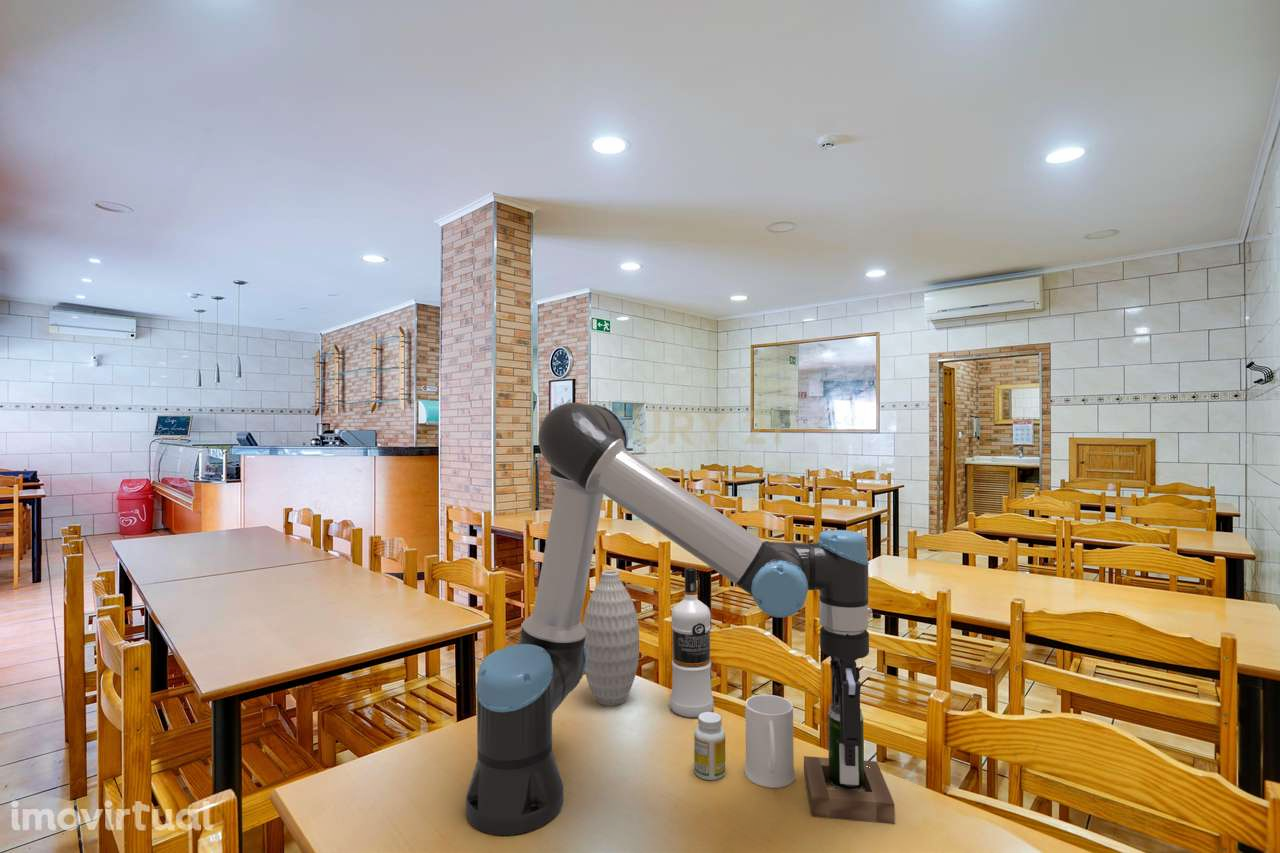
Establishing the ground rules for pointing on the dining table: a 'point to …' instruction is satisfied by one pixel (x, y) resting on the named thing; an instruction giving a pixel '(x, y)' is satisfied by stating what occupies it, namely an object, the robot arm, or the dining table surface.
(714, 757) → the supplement bottle
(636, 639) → the vase
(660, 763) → the dining table surface
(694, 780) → the dining table surface
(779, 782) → the mug
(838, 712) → the beer can
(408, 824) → the dining table surface
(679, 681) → the vodka
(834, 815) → the holder
